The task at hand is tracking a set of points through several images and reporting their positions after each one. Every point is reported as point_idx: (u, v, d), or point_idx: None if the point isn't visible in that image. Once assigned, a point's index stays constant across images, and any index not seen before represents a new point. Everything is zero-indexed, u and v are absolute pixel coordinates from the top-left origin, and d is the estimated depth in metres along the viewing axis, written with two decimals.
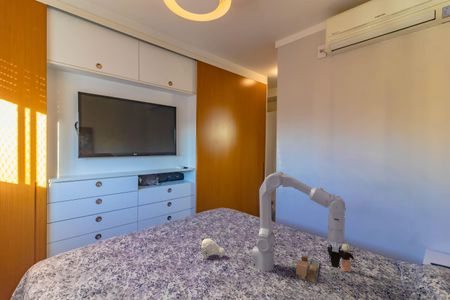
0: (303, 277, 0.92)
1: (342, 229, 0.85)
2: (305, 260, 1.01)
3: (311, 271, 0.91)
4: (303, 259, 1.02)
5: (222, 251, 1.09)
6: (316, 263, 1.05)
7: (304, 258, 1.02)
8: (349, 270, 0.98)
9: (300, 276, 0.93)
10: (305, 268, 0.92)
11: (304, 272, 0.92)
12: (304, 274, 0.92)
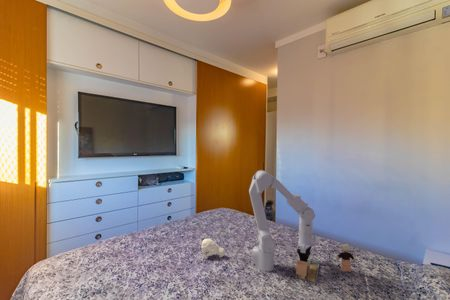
0: (303, 277, 0.92)
1: (311, 232, 1.00)
2: None
3: (311, 271, 0.91)
4: None
5: (222, 251, 1.09)
6: (316, 263, 1.05)
7: None
8: (349, 270, 0.98)
9: (300, 276, 0.93)
10: (305, 268, 0.92)
11: (304, 272, 0.92)
12: (304, 274, 0.92)
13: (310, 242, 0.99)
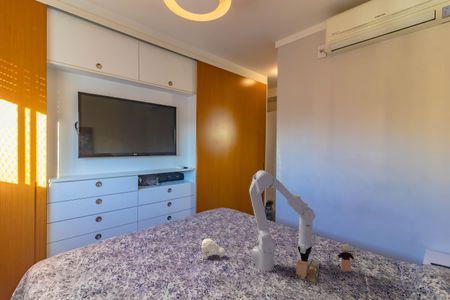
0: (303, 277, 0.92)
1: (311, 233, 1.00)
2: None
3: (311, 271, 0.91)
4: None
5: (222, 251, 1.09)
6: (316, 263, 1.05)
7: None
8: (349, 270, 0.98)
9: (300, 276, 0.93)
10: (305, 268, 0.92)
11: (304, 272, 0.92)
12: (304, 274, 0.92)
13: (310, 242, 0.99)
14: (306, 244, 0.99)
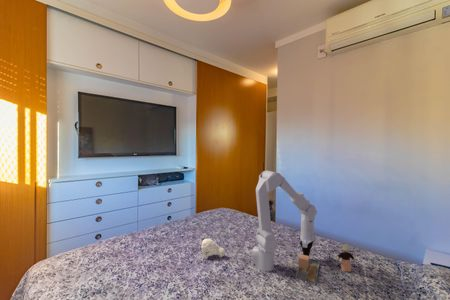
0: (305, 270, 0.98)
1: (313, 228, 1.06)
2: None
3: (311, 271, 0.91)
4: None
5: (222, 251, 1.09)
6: (316, 263, 1.05)
7: None
8: (349, 270, 0.98)
9: (302, 269, 0.98)
10: (307, 262, 0.97)
11: (306, 265, 0.97)
12: (306, 267, 0.98)
13: (311, 237, 1.05)
14: (308, 239, 1.04)
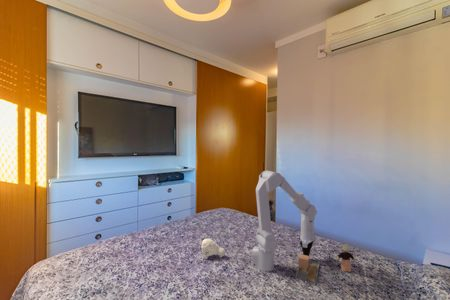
0: (305, 270, 0.98)
1: (313, 228, 1.06)
2: None
3: (311, 271, 0.91)
4: None
5: (222, 251, 1.09)
6: (316, 263, 1.05)
7: None
8: (349, 270, 0.98)
9: (302, 269, 0.98)
10: (307, 262, 0.97)
11: (306, 265, 0.98)
12: (306, 267, 0.98)
13: (311, 237, 1.05)
14: (308, 239, 1.04)
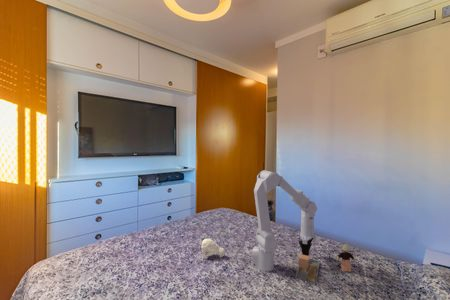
0: (305, 270, 0.98)
1: (313, 225, 1.06)
2: None
3: (311, 271, 0.91)
4: None
5: (222, 251, 1.09)
6: (316, 263, 1.05)
7: None
8: (349, 270, 0.98)
9: (302, 269, 0.98)
10: (307, 262, 0.97)
11: (306, 265, 0.98)
12: (306, 267, 0.98)
13: (311, 234, 1.05)
14: (308, 236, 1.04)
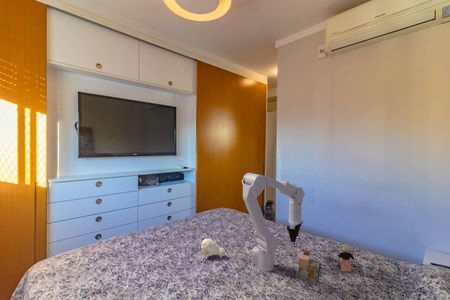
0: (305, 270, 0.98)
1: None
2: (307, 254, 1.07)
3: (311, 271, 0.91)
4: (305, 253, 1.07)
5: (222, 251, 1.09)
6: (316, 263, 1.05)
7: (306, 252, 1.07)
8: (349, 270, 0.98)
9: (302, 269, 0.98)
10: (307, 262, 0.97)
11: (306, 265, 0.98)
12: (306, 267, 0.98)
13: (299, 220, 1.06)
14: (295, 221, 1.06)
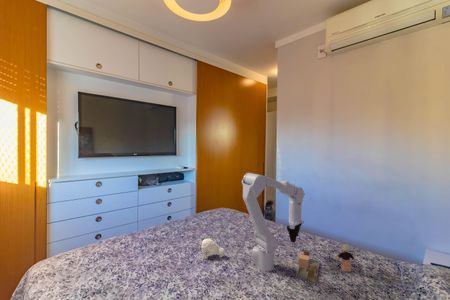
0: (305, 270, 0.98)
1: None
2: (307, 254, 1.07)
3: (311, 271, 0.91)
4: (305, 253, 1.07)
5: (222, 251, 1.09)
6: (316, 263, 1.05)
7: (306, 252, 1.07)
8: (349, 270, 0.98)
9: (302, 269, 0.98)
10: (307, 262, 0.97)
11: (306, 265, 0.98)
12: (306, 267, 0.98)
13: (299, 220, 1.06)
14: (295, 221, 1.06)
